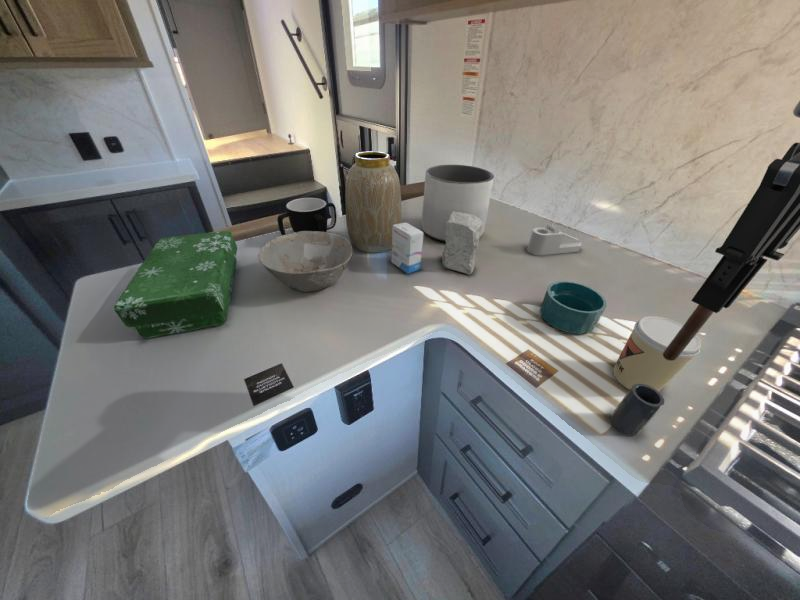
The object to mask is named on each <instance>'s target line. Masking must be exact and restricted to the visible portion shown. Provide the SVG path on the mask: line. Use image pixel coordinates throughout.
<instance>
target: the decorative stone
mask: <svg viewBox="0 0 800 600" xmlns="http://www.w3.org/2000/svg"><path fill="white" fill-rule="evenodd" d="M482 226H483V223H482V222H481V219H480V218H477V217H476V216H475V215H471V214H466V213H460V212H454V211H453V212H452V214H451V215H450V218H449V220H448V221H447V223H446V237H447V238H446V240H445V241H446V242H445V245H444V247H443V251H442V256H441V260H442V265H443V267H444V269H449V270H453V271H456V272H459V273H462V274H466V275H469V276H470V275H472V273H473V272H474V270H475V266H476V251H477V249H478V246H479V241H480V239H481V237H480V234H481V230H482Z"/></svg>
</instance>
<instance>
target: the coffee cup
mask: <svg viewBox="0 0 800 600" xmlns="http://www.w3.org/2000/svg"><path fill="white" fill-rule="evenodd" d="M683 325H684V324H681V323H679V322H677V321H675V320H672V319H670V318H666V317H662V316H656V315H655V316H654V315H649V316H644V317H641V318H640V319H638V320H637V321H636V322H635V324H634V327H633V329H632V331H631V333H630V334H629V336H628V338H627V340H626V342H625V344H624V347H623V349H622V351H621V352H620V354H619V356H618V359H617V361H616V363H615V365H614V367H613V375H614V377H615V380H617V381H618V383H620V384H621V385H622V386H623V387H625V388H627V389H628V391H629V390H630V389H631V387H632V386H633V385H635V384H645V385H648V386H651V387H652V388H654V389H656V390H657V391H658V392H659V393H660V391H661V390H662V389H663V388H664V387H665V386H666V385H668V383H669V382H670V381H671V380H672V379H673V378H674V377H675V376H676V375H677V374H678V373H680V371H681V370H683V368H685V366H686V365H687V364H689V362H690V361H691V360H693V358H694V357H696V356H697V355H698V354H700V352H701V349H702V342H701V339H700V338H699V336H698V335H697V334H696V335H695V336H694V337H693V339H692V340H691V341H690V343H689V344H688V345H687V346H686V348H685V349H684V350H683V351H682V353H681V354H680V355H679V356H678V358H677V359H676V360H673V361H669V360H666V359H665V358H664V357H663V352H664V351H665V349H666V348H667V347H668V345H669V344H670V343H671V341H672V340H673V339H674V337H675V336H676V335H677V333H678V332H679V330H680V329H681V328H682V326H683Z"/></svg>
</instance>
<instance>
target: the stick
mask: <svg viewBox="0 0 800 600" xmlns="http://www.w3.org/2000/svg"><path fill="white" fill-rule="evenodd" d="M713 314H714V312H713V311H711V310H709V309H707V308H705V307H703V306H701V305H699V304H697V306H696V308H695V309H694V310H693V312H691V314H690V316H689V317H688V318H687V319H686V321H685V323H684V324H682V325H683V326H682V328H681V329H680V330H679V332H678V333H677V335H676V336H675V337H674V339H673V340H672V341H671V343H670V344H669V345H668V347H667V348H666V349H665V351H664V352H663V357H664V358H665V359H666V360H669V361H673V360H676V359H677V358H678V356H679V355H680V354H681V353H682V351H683V350H684V349H685V348H686V346H687V345H688V344H689V343H690V341H691V340H692V339H693V337H694V336H695V335H697V334H698V333H699V331H700V330H701V329H702V328H703V326H704V325H705V324H706V323H707V321H708V320H709V319H710V317H711V316H712V315H713Z"/></svg>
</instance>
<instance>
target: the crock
mask: <svg viewBox="0 0 800 600" xmlns="http://www.w3.org/2000/svg"><path fill="white" fill-rule="evenodd" d="M664 405H665V397H664V396H663V394H662V393H660V391H659V392H658V391H657V390H656V389H654V388H652V387H651V386H648V385H645V384H635V385H633V386H632V387H631V389H630V390H629V389H628V391H627V393H626V394H625V395H624V397H623V398H622V400H620V403H618V405H617V406H616V408H615V409H614V411H613V412H612V414H611V415H610V418H609V420H610V423H611V425H612V426H613V428H614V429H615V430H616V431H617V432H619V433H620V434H622V435H625V436H628V437H635V436H638V434H640V433H641V431H643V429H644V428H646V426H647V425H648V424H649V423H650V421H651V420H652V419H653V418H654V417H655V415H657V413H659V411H660V410H661V409H662V407H663V406H664Z"/></svg>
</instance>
